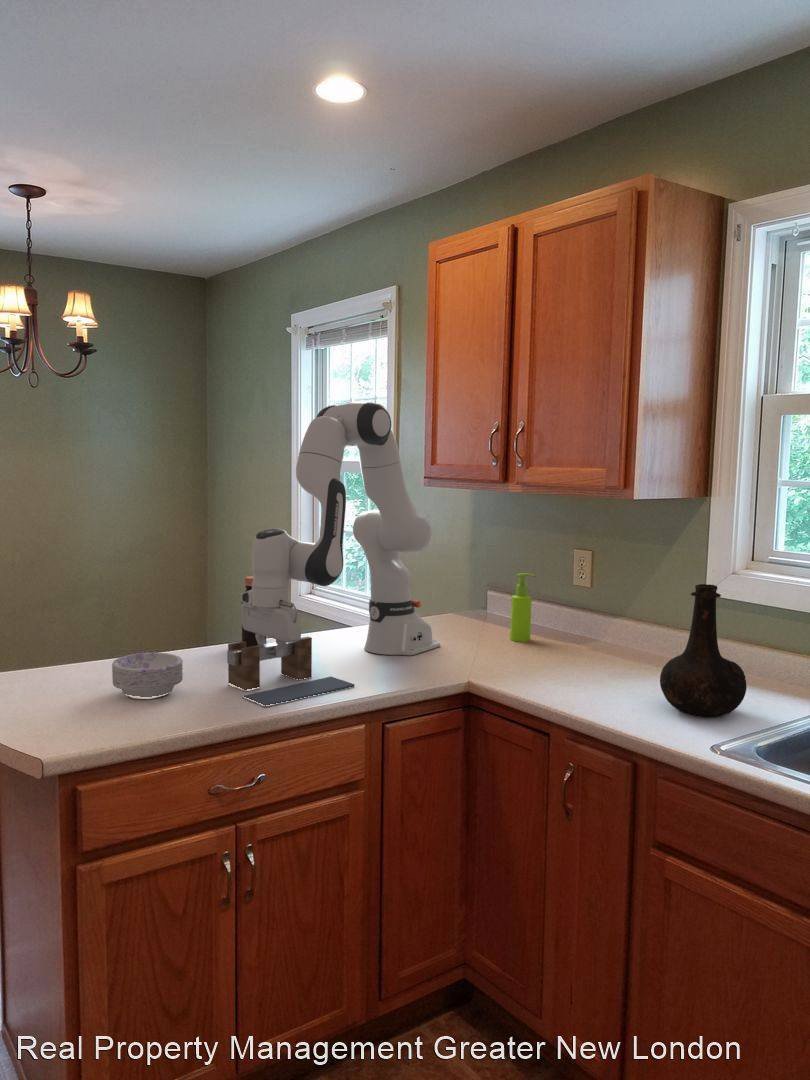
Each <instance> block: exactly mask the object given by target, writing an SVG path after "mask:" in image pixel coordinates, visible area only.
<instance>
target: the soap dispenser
mask: <svg viewBox="0 0 810 1080" xmlns="http://www.w3.org/2000/svg"><path fill="white" fill-rule="evenodd" d="M516 576H517V577H518V578H519V580H518V583H517V584H516V585H515V594H514V595H511V608H510V609H511V610H510V635H509V636H510V641H513V642H518V643H519V642H520V643H526V642H530V641H531V622H532V618H531V617H532V596H531V595H528V588H529V586H528V584H527V583H526V577H532V578H536V574H534V573H533V574H532V573H527V572H526V573H525V572H524V573H523V572H522V573H517V574H516Z"/></svg>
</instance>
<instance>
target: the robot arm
mask: <svg viewBox="0 0 810 1080" xmlns="http://www.w3.org/2000/svg"><path fill="white" fill-rule="evenodd" d="M355 446H356V448H358V460H359V465H360V466H359V467H360V472H361V473H360V474H361V478H362V482H363V484H362V485H363V491H364V494H365V495H366V497H367V498H368V499H369V500H371V502H373V503H374V505H375V506H376V508H377V509H373V510H368V511H364V512H361V513H359V514H358V515H357V516H356V518H355V519H354V522H353V526H352V534H353V537H354V539H355V540H356V542H357V543H358V544H359V545H360V546H361V548H362V550H363V551H364V554H365V557H366V560H367V564H368V567H369V573H370V574H369V575H370V598H369V602H368V613H369V622H368V630H367V631H368V632H367V637H366V641H365V644H364V648H363V649H364V651H366V652H369V653H373V654H379V655H388V656H389V655H395V656H397V655H398V656H399V655H401V656H414V655H417V654H421V653H423V652H427V651H431V650H432V649H436V648H439V647H441V642H440V641H438V640H436V639H435V638H434V639H433V632H432V627H431V625H430V624H429V623H428V622H427V621H426V620H424V619H423V618H422V617H421V616H420V615H419V614H418V613H417V612H416V610H415V608H417V609H418V608H421V606H422V602H421V600H417V599H414V600H412V599H411V573H410V570H409V569H408V567H407V566H405V564H404V563H403V561H402V559H401V557H400V554H399V553H406V554H407V553H415V552H421V551H423V550H425V549H426V548H427V547H428V546H429V543H430V542H431V538H432V527H431V524H430V522H429V520H428V519H427V518H426V517H425V516H423V515H422V514H421V512H419V510H417V508H416V506H415V504H414V503H413V500H412V499H411V498H410V495H409V493H408V490H407V488H406V484H405V479H404V473H403V468H402V462H401V461H402V460H401V456H400V451H399V446H398V443H397V440H396V437H395V434H394V431H393V429H392V418H391V416H390V413H389V411H388V409H387V408H386V407H385V406H384V405H382V404H380V403H376V402H372V401H369V402H348V403H342V404H337V405H335V404H333V405H329V406H326V407H324V408H322V409H321V410H319V412H318V413H317V415H316V416H315V418H313V419H312V420H311V422H310V423H309V425H308V427H307V429H306V431H305V433H304V436H303V439H302V442H301V445H300V449H299V452H298V457H297V459H296V463H295V464H296V465H295V478H296V481H297V483H298V484H299V486H300V487H301V489H303V491H305V492H307V494H309V495H311V496H313V497H314V498H315V499H317V500H318V502H319V503H320V506H321V519H320V528H319V529H320V531H319V538H318V540H317V542H307V541H302V540H299V539H296V538H293V537H292V536H291V535H289V534H288V532H287V531H286V530H285V529H282V528H270V529H269V528H268V529H265V530H261V531H258V533H256V534H255V536H254V538H253V543H252V549H251V571H252V572H253V576H254V577H253V582H252V590H249V591H246V590H245V591H246V592H245V591H244V592H241V593H240V601H241V609H240V612H241V627H242V626H243V628H244V630H247V631H250V632H253V633H255V637H256V640H257V643H258V645H262V644H267V640H266V641H265V637H266V638H270V639H274V640H275V642H276V644H277V647H276V649H275V650H274V656H275V657H277V658H278V659H279V658H280V659H281V657H283V650H284V648H285V646H286V644H287V643H292V642H297V641H299V640H300V638H302V628H301V618H300V614H299V612H298V609H297V607H296V606H295V604H294V603H293V602H290V581H289V580H294V581H299V582H304V583H306V582H307V583H310V584H314V585H318V586H320V587H328V586H330V585H332V584H334V583H335V582H336V580H338V578H340V576H341V574H342V572H343V569H344V555H343V554H344V553H343V552H344V551H343V544H344V543H343V542H344V541H343V540H344V532H345V531H344V530H345V520H346V519H345V518H346V508H347V505H346V504H347V491H346V490H347V489H346V487H345V484H344V483H343V482H342V478H341V475H342V474H341V471H342V465H343V462H344V461H343V460H344V454H345V448H346V447H355ZM242 602H243V604H242Z"/></svg>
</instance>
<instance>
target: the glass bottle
mask: <svg viewBox="0 0 810 1080" xmlns="http://www.w3.org/2000/svg"><path fill="white" fill-rule="evenodd" d="M694 587H695V590H694V591H693V592H691V593H690V596H692V597H694V603H693V604H694V605H693V611H692V612H693V613H692V620H691V625H690V630H689V637H688V640H687V644H686V646H685V649H684V650H683V652H682V653H681V654H679V655H677V656H675V657H673V658H671V659H669V661H667V662H666V663H665V665H663V667H662V669H661V672H660V677H659V685H660V689H661V692H662V693H663V696H664V698H665V699H666V701H667V702H668V703H669V704H670V705H671V706H672V707H673V708H675V709H676V710H677V711H678V712H679V711H680V713H682V714H686V715H689V716H691V717H699V718H706V719H707V718H708V719H709V718H710V719H711V718H720V717H724V716H726V715H729V714H730V713H733V712H734V711H735V710H736V709H737V708H738V707H739V706H740V705H741V704H742V703H743V700H744V699H745V696H746V693H747V679H746V675H745V671H744V670H743V669H742V667H741V666H740V665H739V664H737V663H736V662H734V661H732V660H729V659H727V658H724V657H723V656H722V654H721V653H720V649H719V643H718V633H717V631H718V630H717V629H718V628H717V598H721V597H722V595H721V594H720V593H718V592H717V590H718V585H715V584H705V583H703V584H695V585H694Z"/></svg>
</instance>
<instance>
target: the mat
mask: <svg viewBox="0 0 810 1080" xmlns="http://www.w3.org/2000/svg"><path fill="white" fill-rule="evenodd" d="M354 686H355V687H356V685H355V683H352V682H350V681H346V680H343V679H340V678H337V677H334V676H328V677H322V678H317V679H313V680H309V681H304V682H299V683H295V684H290V685H285V686H281V687H277V688H272V689H266V690H262V691H259V692H253V693H249V694H244V695H242V697H243V696H244V697H246V698H249V699H251V700H254V701H256V702H258V703H261V704H263V705H265V706H266V705H270V704H276V703H281V702H286V701H291V700H295V699H300V698H304V697H308V696H313V695H317V696H319V695H318V694H321V695H323V694H322V693H326V694H328V693H327V692H330V693H333V692H332V691H334V692H337V691H336V690H339V691H342V690H341V689H343V690H346V689H345V688H347V689H350V688H349V687H351V688H354ZM313 697H314V696H313ZM304 699H305V698H304ZM300 700H301V699H300Z"/></svg>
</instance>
